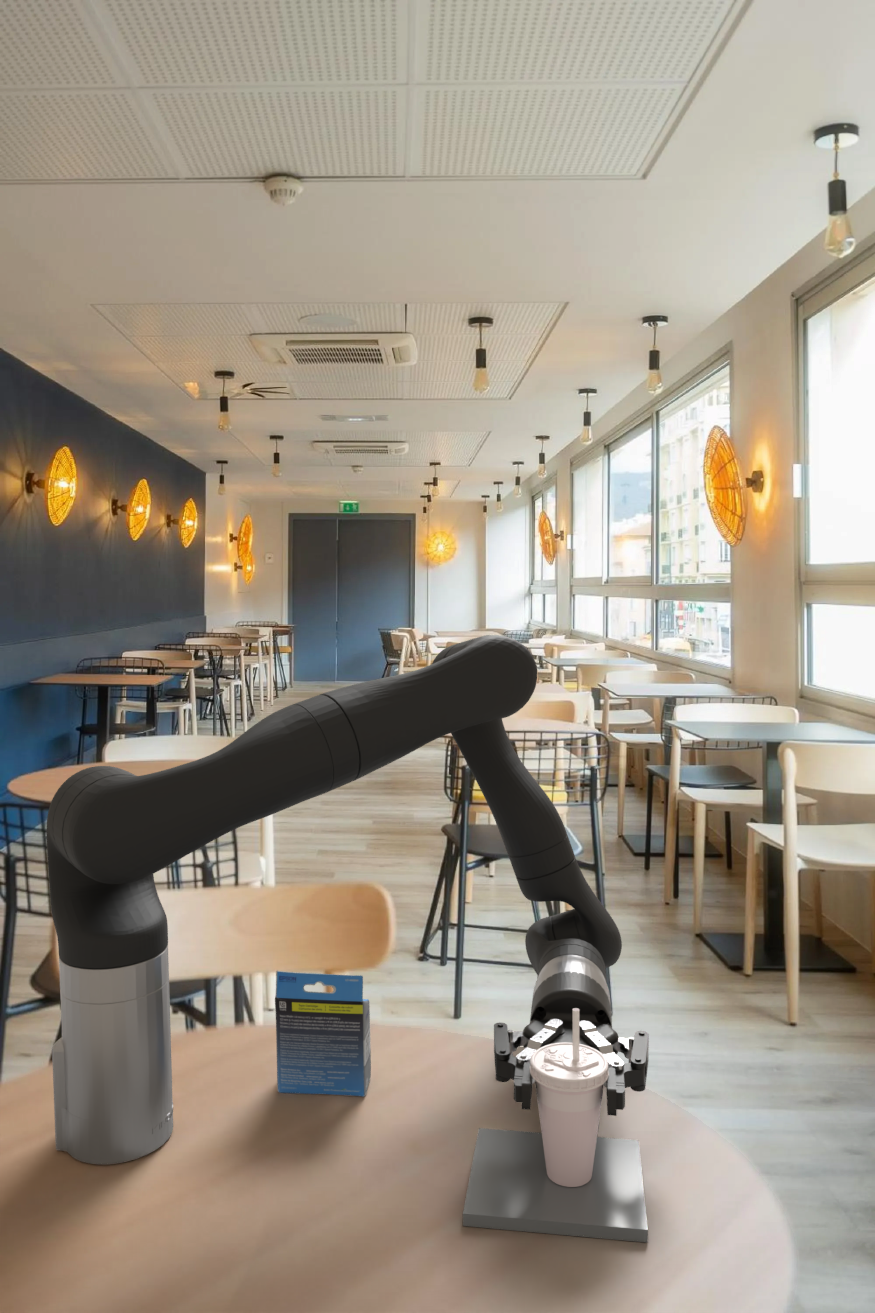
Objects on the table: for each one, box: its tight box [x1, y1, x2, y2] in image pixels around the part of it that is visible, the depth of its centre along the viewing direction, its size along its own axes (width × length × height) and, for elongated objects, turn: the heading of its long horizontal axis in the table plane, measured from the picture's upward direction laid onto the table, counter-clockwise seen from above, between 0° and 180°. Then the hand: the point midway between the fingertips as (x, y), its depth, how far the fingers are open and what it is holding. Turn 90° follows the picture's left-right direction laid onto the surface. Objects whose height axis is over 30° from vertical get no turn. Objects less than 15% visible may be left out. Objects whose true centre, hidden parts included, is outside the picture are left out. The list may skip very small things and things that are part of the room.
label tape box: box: [274, 970, 372, 1097], centre depth 97 cm, size 9×4×12 cm, turn 84°
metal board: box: [462, 1127, 649, 1243], centre depth 81 cm, size 14×12×1 cm
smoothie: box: [530, 1008, 609, 1187], centre depth 80 cm, size 6×6×14 cm
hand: (569, 1101), depth 78 cm, fingers closed on smoothie, 6 cm apart
